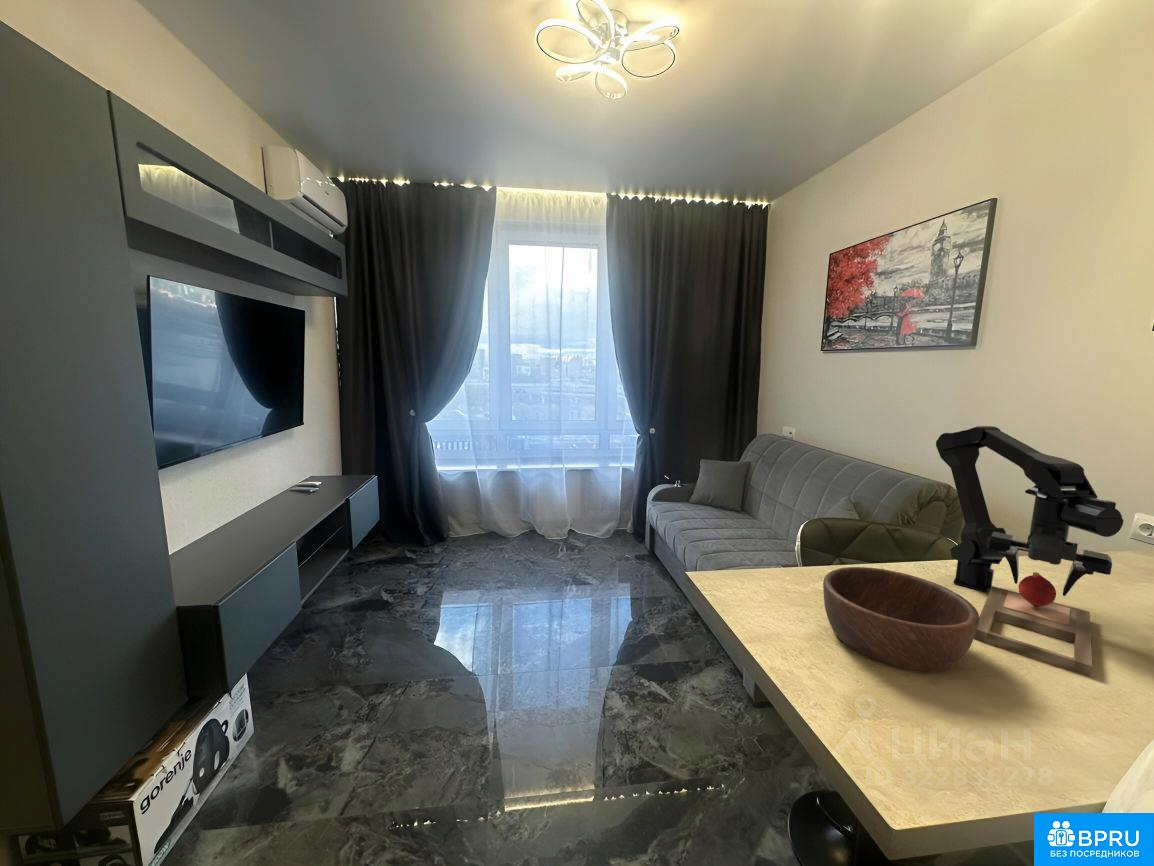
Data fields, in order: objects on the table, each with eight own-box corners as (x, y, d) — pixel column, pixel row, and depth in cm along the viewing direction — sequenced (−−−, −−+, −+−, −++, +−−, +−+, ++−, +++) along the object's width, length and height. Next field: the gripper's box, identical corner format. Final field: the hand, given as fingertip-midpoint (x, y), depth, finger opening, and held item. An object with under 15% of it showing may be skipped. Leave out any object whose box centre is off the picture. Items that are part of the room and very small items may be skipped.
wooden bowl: (841, 598, 110) (845, 556, 109) (980, 643, 93) (987, 594, 91) (800, 640, 93) (804, 591, 91) (961, 706, 75) (970, 646, 74)
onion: (1046, 599, 104) (1047, 566, 103) (1061, 614, 99) (1063, 580, 97) (1012, 598, 106) (1014, 565, 105) (1026, 612, 101) (1027, 578, 100)
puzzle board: (973, 638, 94) (974, 627, 94) (990, 593, 113) (992, 584, 113) (1090, 676, 83) (1092, 664, 83) (1088, 620, 102) (1089, 610, 102)
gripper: (988, 517, 101) (978, 585, 103) (1119, 541, 88) (1104, 619, 90) (994, 507, 109) (984, 571, 111) (1116, 528, 95) (1102, 600, 97)
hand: (1039, 589), depth 102 cm, fingers open, 7 cm apart
